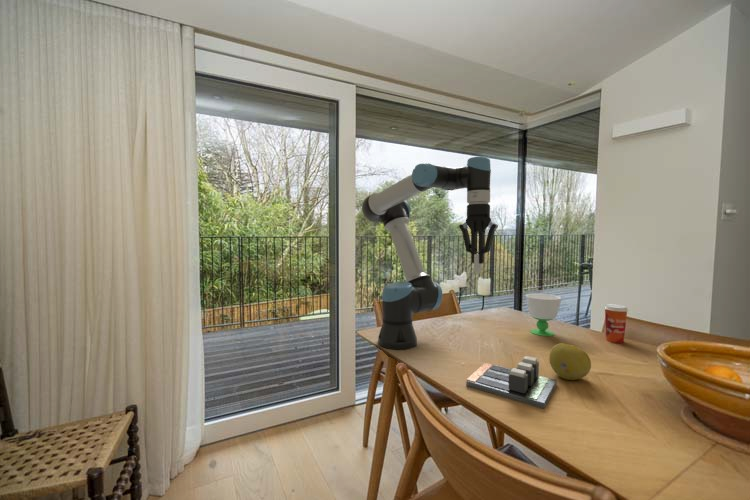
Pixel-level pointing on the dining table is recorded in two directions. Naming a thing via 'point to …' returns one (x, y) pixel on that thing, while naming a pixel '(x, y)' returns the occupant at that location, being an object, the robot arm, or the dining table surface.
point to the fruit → (569, 361)
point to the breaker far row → (534, 364)
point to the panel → (498, 383)
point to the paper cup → (615, 322)
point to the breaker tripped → (518, 380)
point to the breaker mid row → (527, 371)
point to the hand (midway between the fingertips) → (477, 272)
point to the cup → (543, 311)
